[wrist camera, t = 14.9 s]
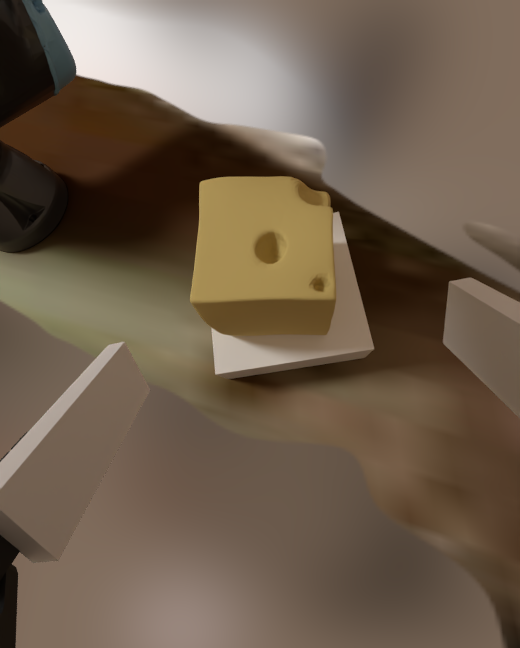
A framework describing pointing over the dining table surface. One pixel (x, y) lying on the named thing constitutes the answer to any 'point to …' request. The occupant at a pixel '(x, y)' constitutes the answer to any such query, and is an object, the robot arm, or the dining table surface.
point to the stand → (304, 350)
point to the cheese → (264, 257)
